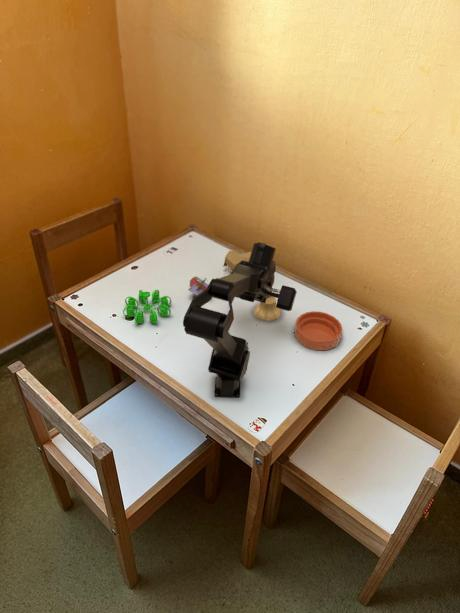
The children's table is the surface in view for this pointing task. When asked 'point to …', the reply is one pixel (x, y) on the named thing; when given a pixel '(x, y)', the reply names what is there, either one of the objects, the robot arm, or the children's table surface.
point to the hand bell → (268, 309)
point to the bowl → (318, 330)
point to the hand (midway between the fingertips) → (265, 296)
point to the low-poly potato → (235, 258)
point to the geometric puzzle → (197, 286)
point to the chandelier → (147, 306)
